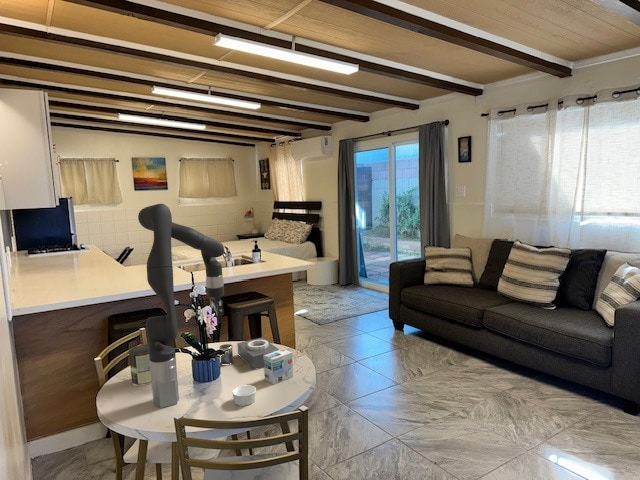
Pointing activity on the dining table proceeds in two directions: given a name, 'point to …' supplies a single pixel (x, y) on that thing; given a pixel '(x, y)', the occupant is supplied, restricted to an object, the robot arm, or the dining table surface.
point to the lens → (226, 357)
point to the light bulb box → (278, 366)
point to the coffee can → (140, 365)
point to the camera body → (255, 351)
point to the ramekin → (244, 395)
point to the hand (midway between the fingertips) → (217, 320)
